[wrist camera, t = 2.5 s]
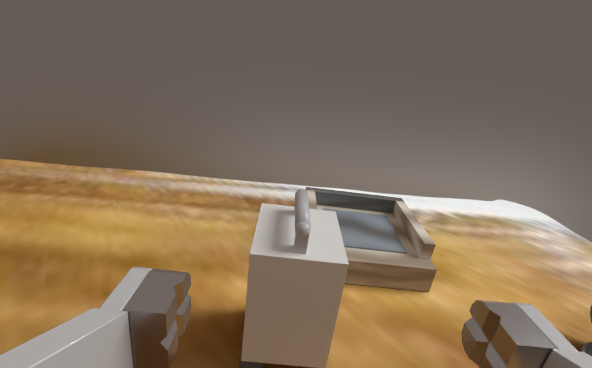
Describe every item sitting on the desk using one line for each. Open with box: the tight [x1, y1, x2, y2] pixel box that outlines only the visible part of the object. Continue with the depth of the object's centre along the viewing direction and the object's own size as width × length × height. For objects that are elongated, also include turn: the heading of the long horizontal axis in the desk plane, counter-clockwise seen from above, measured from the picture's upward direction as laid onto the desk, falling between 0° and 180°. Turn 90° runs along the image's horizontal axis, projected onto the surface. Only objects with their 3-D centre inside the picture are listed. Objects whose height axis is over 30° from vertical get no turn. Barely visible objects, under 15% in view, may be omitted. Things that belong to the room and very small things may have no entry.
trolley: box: [239, 189, 349, 368], centre depth 24 cm, size 7×6×13 cm
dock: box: [306, 187, 437, 292], centre depth 40 cm, size 14×14×5 cm
